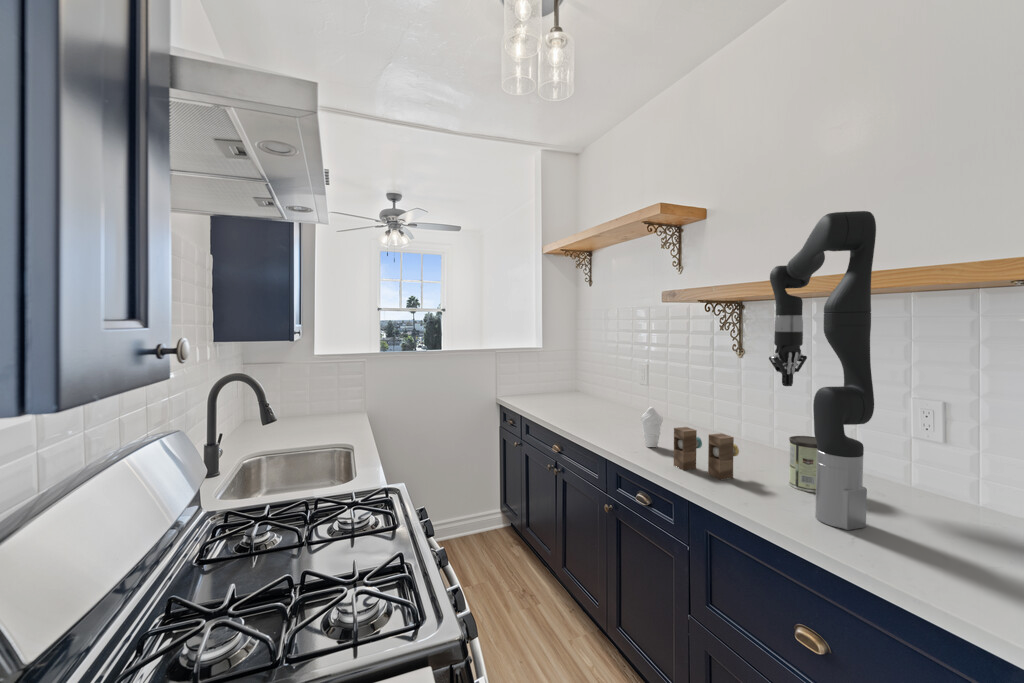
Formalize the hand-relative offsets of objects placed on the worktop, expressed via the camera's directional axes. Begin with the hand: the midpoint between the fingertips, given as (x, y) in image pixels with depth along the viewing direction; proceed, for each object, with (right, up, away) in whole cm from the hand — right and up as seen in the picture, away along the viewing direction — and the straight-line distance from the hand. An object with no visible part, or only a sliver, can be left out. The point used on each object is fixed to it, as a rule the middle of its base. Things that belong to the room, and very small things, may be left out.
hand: (787, 385), depth 140 cm
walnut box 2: (-20, -29, +3) cm, 35 cm away
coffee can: (+2, -30, -6) cm, 30 cm away
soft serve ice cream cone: (-31, -28, +37) cm, 56 cm away
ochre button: (-18, -23, +3) cm, 29 cm away
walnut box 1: (-27, -29, +12) cm, 41 cm away
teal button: (-26, -23, +12) cm, 36 cm away
